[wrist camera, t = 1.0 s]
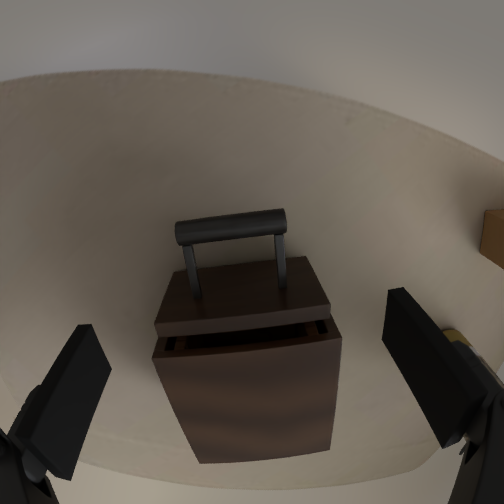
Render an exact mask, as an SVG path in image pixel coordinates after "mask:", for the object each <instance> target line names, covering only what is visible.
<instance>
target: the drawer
mask: <svg viewBox="0 0 504 504" xmlns="http://www.w3.org/2000/svg"><path fill="white" fill-rule="evenodd" d="M286 232H287V221H286V215H285V211H284V209H283V208H281V209H272V210H263V211H254V212H246V213H238V214H230V215H222V216H214V217H207V218H199V219H192V220H184V221H177V222H176V223H175V237H176V241H177V243H178V245H179V246H182V248H183V253H184V258H185V263H186V267H187V270H184V271H175V272H173V275H172V277H171V280H170V282H169V285H168V287H167V290H166V293H165V295H164V298H163V301H162V303H161V306H160V308H159V311H158V314H157V317H156V319H155V322H154V326H155V329H156V332H157V335H158V337H159V338H160V337H175V336H177V339H176V343H175V348H174V350H185V349H198V348H211V347H222V346H232V345H242V344H251V343H259V342H268V341H275V340H283V339H290V338H297V337H304V336H311V335H317V334H319V333H318V330H317V327H316V325H315V322H314V321H317V320H323V319H329V318H330V308H331V304H330V302H329V300H328V298H327V296H326V294H325V292H324V290H323V288H322V286H321V284H320V282H319V280H318V278H317V276H316V274H315V272H314V270H313V268H312V266H311V264H310V263H309V261H308V259H307V257H306V256H301V257H293V258H285V248H284V235H283V233H286ZM273 234H274V245H275V256H276V260H268V261H260V262H252V263H244V264H235V265H227V266H218V267H210V268H201V269H197V266H196V261H195V256H194V250H193V245H192V244H199V243H207V242H215V241H223V240H232V239H240V238H248V237H256V236H265V235H273Z"/></svg>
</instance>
